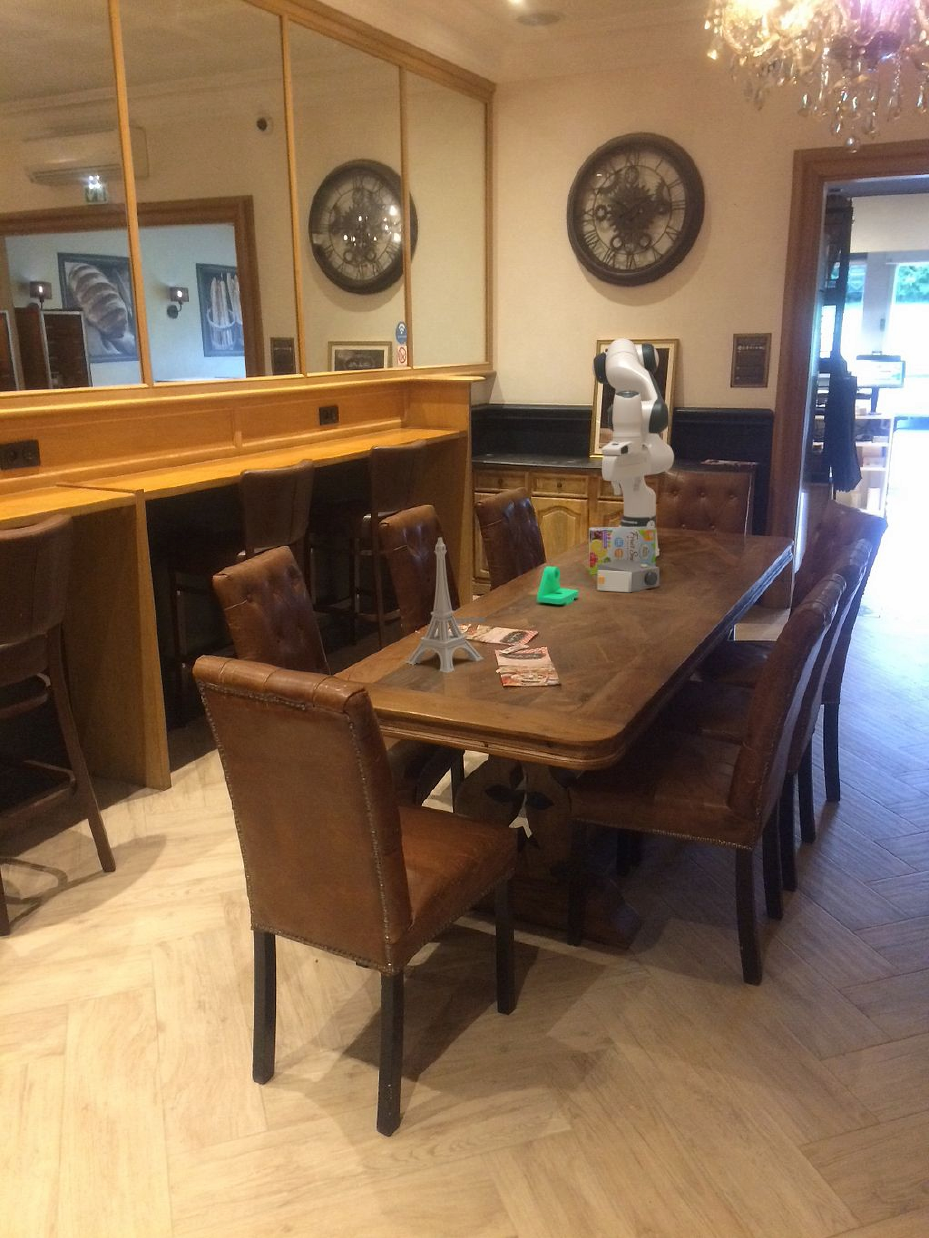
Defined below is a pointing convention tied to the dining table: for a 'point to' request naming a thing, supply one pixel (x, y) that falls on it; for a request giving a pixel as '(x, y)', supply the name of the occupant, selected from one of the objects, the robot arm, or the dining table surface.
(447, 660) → the eiffel tower
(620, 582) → the side door
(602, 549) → the snack box
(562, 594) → the camera mount
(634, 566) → the camera case
